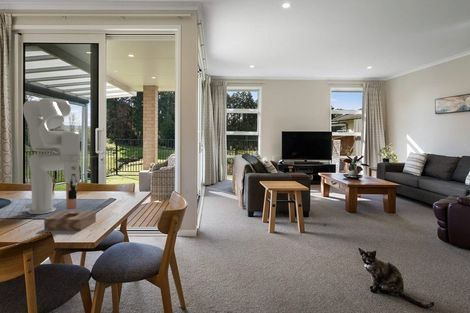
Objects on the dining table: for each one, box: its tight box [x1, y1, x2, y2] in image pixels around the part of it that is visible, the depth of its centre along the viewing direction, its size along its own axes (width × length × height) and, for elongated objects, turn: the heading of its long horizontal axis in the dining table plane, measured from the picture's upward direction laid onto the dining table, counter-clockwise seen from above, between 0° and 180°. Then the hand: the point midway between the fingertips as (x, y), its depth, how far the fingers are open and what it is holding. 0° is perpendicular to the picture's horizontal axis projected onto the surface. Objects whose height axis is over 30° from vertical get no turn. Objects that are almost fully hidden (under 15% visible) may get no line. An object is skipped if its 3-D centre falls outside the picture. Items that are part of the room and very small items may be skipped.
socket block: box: [43, 210, 96, 232], centre depth 135 cm, size 16×14×5 cm
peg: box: [65, 182, 77, 210], centre depth 134 cm, size 4×4×14 cm
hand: (71, 197), depth 134 cm, fingers closed on peg, 4 cm apart
